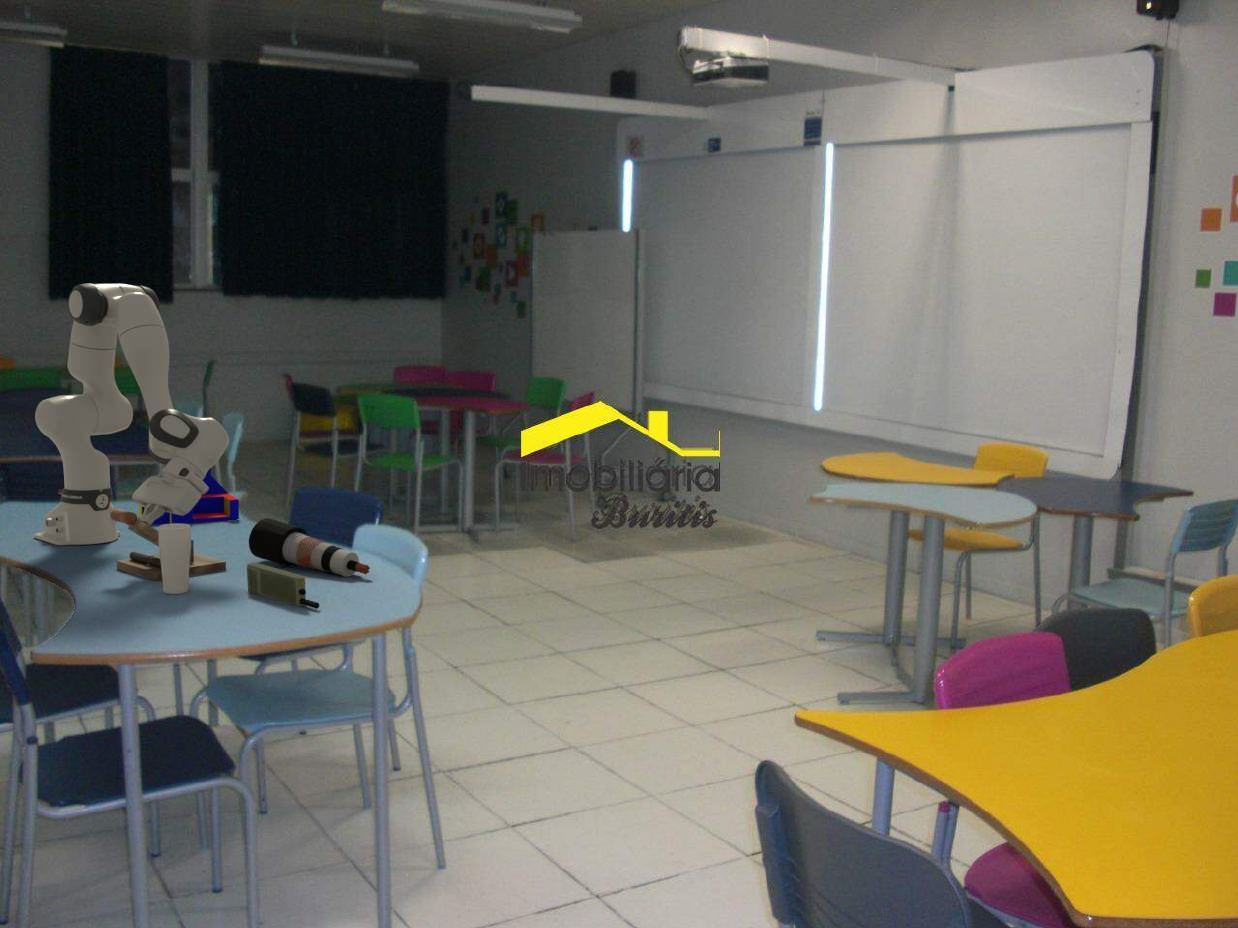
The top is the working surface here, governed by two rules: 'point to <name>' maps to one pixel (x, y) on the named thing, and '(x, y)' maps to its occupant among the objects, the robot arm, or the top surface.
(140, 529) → the cutter lever
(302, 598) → the handheld radio
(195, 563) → the cutter board
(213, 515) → the building blocks toy
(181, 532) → the drinking glass
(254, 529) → the cable
